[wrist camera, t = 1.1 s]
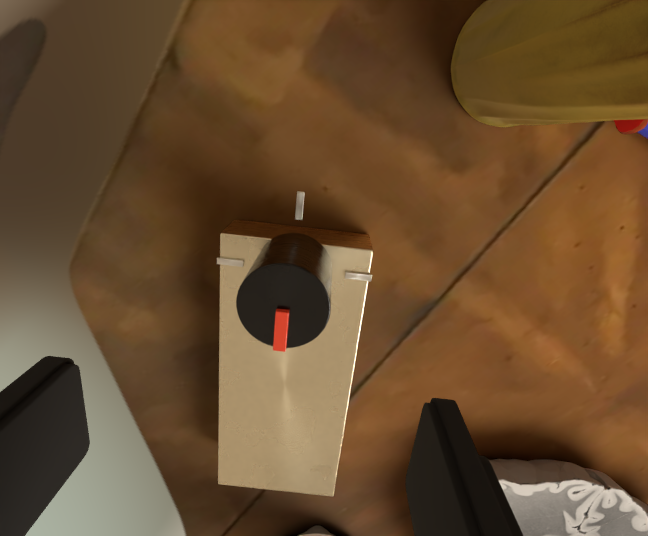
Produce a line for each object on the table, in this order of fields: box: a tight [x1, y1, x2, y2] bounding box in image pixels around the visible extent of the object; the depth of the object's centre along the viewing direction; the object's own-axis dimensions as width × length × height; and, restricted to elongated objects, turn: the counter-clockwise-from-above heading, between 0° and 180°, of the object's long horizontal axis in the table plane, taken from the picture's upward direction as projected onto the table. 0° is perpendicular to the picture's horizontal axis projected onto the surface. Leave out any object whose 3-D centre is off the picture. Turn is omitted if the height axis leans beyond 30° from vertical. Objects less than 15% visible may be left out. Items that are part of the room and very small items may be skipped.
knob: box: [236, 233, 332, 352], centre depth 18 cm, size 4×4×5 cm
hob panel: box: [217, 191, 373, 496], centre depth 24 cm, size 21×8×3 cm, turn 174°
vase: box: [451, 0, 648, 127], centre depth 13 cm, size 6×6×14 cm
